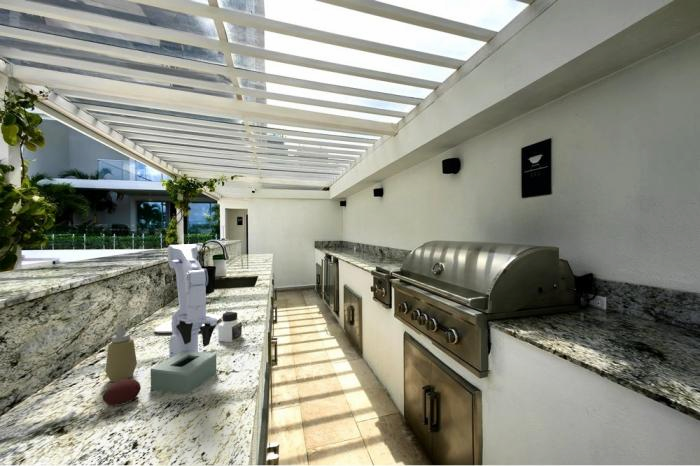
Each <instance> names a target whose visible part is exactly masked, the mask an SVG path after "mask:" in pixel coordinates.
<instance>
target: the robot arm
mask: <svg viewBox="0 0 700 466" xmlns="http://www.w3.org/2000/svg"><path fill="white" fill-rule="evenodd" d="M167 258H168V259H167V260H168V265H169V268H171V269H174V271H175V275H176V288H177V296H178V299H177V300H178V309H177V310H176V311H175V312H173V314H171V315H172V316H171V320H172V322H171V327H172V333H171V336H170V338H169V341H168V345H169V346H168V350H169V351H168V352H169V353H168V354H169V355H168V356H167V359H169V358H171V357H173V356H175V355H177V354H178V353H180V352H182V351H184V350H186V351H195V352H204V350H202V349H199V333H201V338H202V346H203V347H207V346H209V345H210V344H211V338H212V335H213V332H214V331H215V328H216V327H217V326H218V321H217V318H212V317H209V316H206V315H207V293H206V291H207V290H206V289H207V288H206V287H207V286H208V284H209V275H208V270H207V268H202V266H201V263H200V262H199V260H197V258H198V246H197V244H195V243H192V244H169V245H168V247H167ZM202 324H205V326H202ZM199 330H201V331H200V332H199Z"/></svg>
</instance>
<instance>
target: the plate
mask: <svg viewBox="0 0 700 466" xmlns="http://www.w3.org/2000/svg"><path fill="white" fill-rule="evenodd" d="M206 316H209V317H212V318H217V322H218V321H219V320H221V319H223V316H221V315H220V314H206ZM171 322H172V319H170V320H169V321H166V322H164V323H162V324H160V325H158V326H156V327H154V329H153V330H154V331H155V332H156V333H159V334H173V333H172V327H171ZM202 326H205V324H202ZM198 333H201V330H199V332H198Z"/></svg>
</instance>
